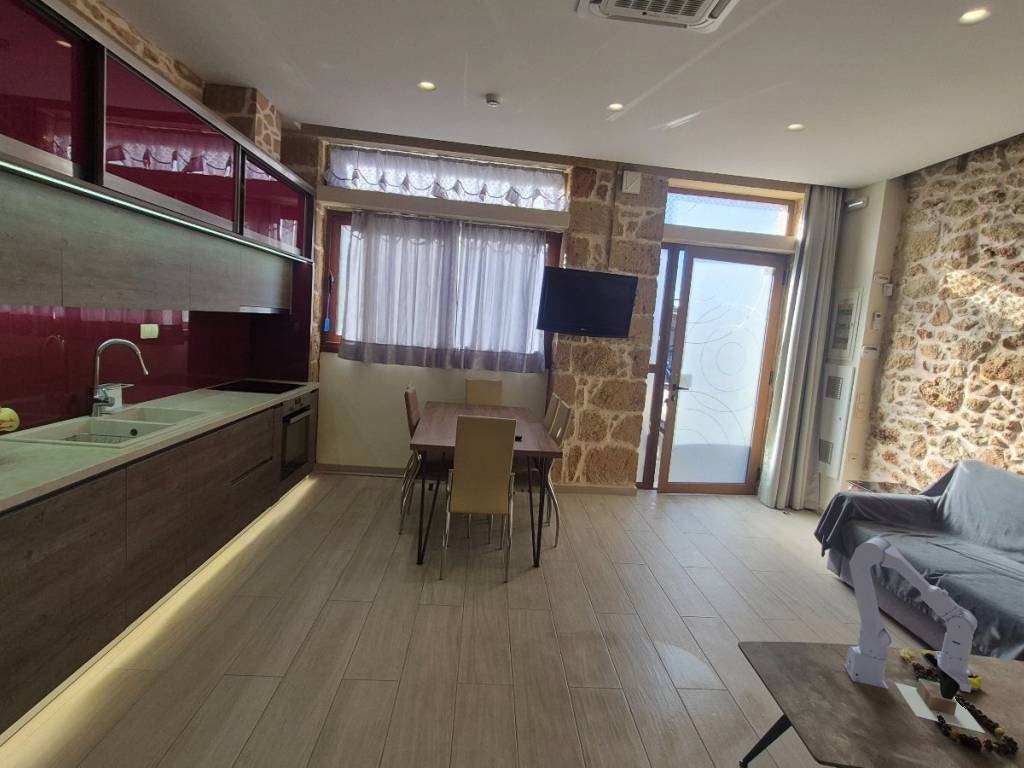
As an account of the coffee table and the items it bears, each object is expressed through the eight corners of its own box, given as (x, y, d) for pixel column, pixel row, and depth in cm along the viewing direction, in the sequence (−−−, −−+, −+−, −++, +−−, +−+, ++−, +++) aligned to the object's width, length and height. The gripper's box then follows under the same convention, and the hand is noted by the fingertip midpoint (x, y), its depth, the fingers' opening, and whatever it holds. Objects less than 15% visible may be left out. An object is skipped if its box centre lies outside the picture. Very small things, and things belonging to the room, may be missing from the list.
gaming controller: (962, 697, 151) (990, 696, 153) (965, 680, 150) (993, 679, 152) (915, 663, 166) (941, 662, 167) (918, 648, 165) (944, 647, 167)
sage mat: (915, 717, 141) (916, 715, 141) (894, 684, 155) (894, 682, 154) (985, 735, 137) (985, 733, 137) (956, 699, 150) (957, 697, 150)
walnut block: (931, 696, 144) (918, 678, 151) (929, 709, 144) (916, 690, 152) (957, 702, 142) (942, 683, 149) (954, 715, 142) (939, 696, 150)
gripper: (988, 674, 132) (978, 720, 134) (958, 641, 146) (949, 684, 148) (956, 666, 134) (947, 712, 136) (929, 635, 148) (921, 677, 150)
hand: (946, 697), depth 142 cm, fingers closed
